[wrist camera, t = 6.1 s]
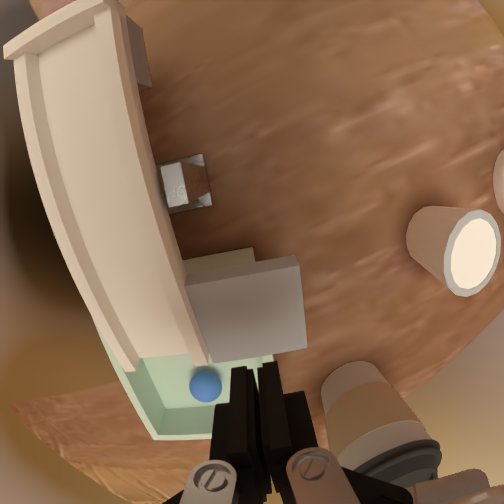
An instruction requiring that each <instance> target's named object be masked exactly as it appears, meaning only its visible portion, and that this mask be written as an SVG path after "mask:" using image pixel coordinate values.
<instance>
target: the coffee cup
mask: <svg viewBox="0 0 504 504" xmlns="http://www.w3.org/2000/svg"><path fill="white" fill-rule="evenodd" d="M321 398H322V403H323V408H324V413H325V425H326V431H327V437H328V443H329V449H330V452H332V453H333V454H334V456H335V457H336V458H337V460H338V462H339V464H340V466H342V467H345V468H347V469H350V470H353V471H355V472H358V473H361V474H364V475H367V476H369V477H372V478H375V479H378V480H381V481H385V482H388V483H391V484H394V485H398V486H401V487H403V488H407V487H412V486H415V484H416V483H421V482H425V481H429V480H433V479H437V478H438V476H437V468H438V466H439V464H440V462H441V459H442V453H441V451H440V445H439V443H438V442H437V441H435V440H432V438H431V437H430V436H429V434H428V433H427V432H426V429H425V426H424V425H423V424H422V422H421V421H420V420H419V419H418V417H417V416H416V415H415V414H414V412H413V411H412V410H411V409H410V407H409V406H408V405H407V403H406V402H405V401H404V400H403V398H402V397H401V396H400V395H399V394H398V392H397V391H396V390H395V389H394V387H393V386H391V385H390V384H389V383H388V382H387V380H386V379H385V378H384V377H383V375H382V374H381V373H380V372H379V370H378V369H377V368H376V367H375V366H374V365H373V364H372V363H370V362H366V361H354V362H350V363H347V364H344V365H342V366H340V367H338V368H337V369H335V370H334V371H333V372H332V373H331V374H330V375H329V376H328V377H327V378H326V379H325V381H324V383H323V385H322V388H321Z"/></svg>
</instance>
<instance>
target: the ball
mask: <svg viewBox="0 0 504 504" xmlns="http://www.w3.org/2000/svg"><path fill="white" fill-rule="evenodd" d="M189 390H190V393H191V394H192V396H193V397H194V398H195V399H196V400H198V401H200V402H212V401H214V400H216V399H217V398H218V397H219V396H220V394H221V392H222V383H221V380H220V379H219V377H218V376H217V375H216V374H214V373H212V372H209V371H201V372H198V373H196V374H195V375H194V376H193V377H192V378H191V380H190V383H189Z"/></svg>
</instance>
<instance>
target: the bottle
mask: <svg viewBox="0 0 504 504" xmlns="http://www.w3.org/2000/svg"><path fill="white" fill-rule="evenodd" d="M493 189H494V195H495V199H496V202H497V204H498V207H499V208H500V210H501V211H502V213H503V214H504V149H503V150H502V151H501V152H500V153H499V155H498V156H497V159H496V162H495V165H494V171H493Z"/></svg>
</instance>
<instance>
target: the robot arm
mask: <svg viewBox="0 0 504 504" xmlns="http://www.w3.org/2000/svg"><path fill="white" fill-rule="evenodd" d="M262 366H263V367H259V368H257V375H258V387H257V383H256V379H255V375H254V371H253V369H247V366H241V367H234V368H231V380H230V398H229V403H219V404H216V405H215V409H214V419H213V428H212V438H211V448H210V458H209V461H205V462H202V463H201V464H199V465H197V466H196V467H195V468H194V469H193V470H192V471H191V473H190V475H189V477H188V480H187V483H186V486H185V489H184V490H182V491H181V492H179V493H178V494H176V495H175V496H173V497H172V498H170V499H169V500H167V501H166V502H164V503H162V504H263V502H266V501H267V498H266V494H271V493H272V488H271V477H272V481H273V484H274V486H275V490H276V492H277V493H279V492H280V495H281V498H282V501H283V504H504V485H498V486H494V487H490V485H489V481H488V478H487V476H486V474H485V473H484V472H482V471H481V470H479V469H468V470H465V471H461V472H459V473H455V474H452V475H448V476H445V477H441V478H437V479H433V480H429V481H425V482H421V483H416V484H415V486H412V487H407V488H403V487H401V486H398V485H394V484H391V483H388V482H385V481H381V480H378V479H375V478H372V477H369V476H367V475H364V474H361V473H358V472H355V471H353V470H350V469H347V468H345V467H342V466H340V464H339V462H338V460H337V458H336V457H335V456H334V454H333V453H332V452H330V451H328V450H326V449H323V448H320V447H318V444H317V440H316V436H315V432H314V428H313V424H312V420H311V416H310V412H309V408H308V404H307V400H306V396H305V393H304V391H299V392H294V393H288V394H283V391H282V385H281V380H280V374H279V369H278V363H277V361H271V362H266V363H262ZM258 390H259V391H258ZM270 474H271V476H270Z"/></svg>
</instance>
